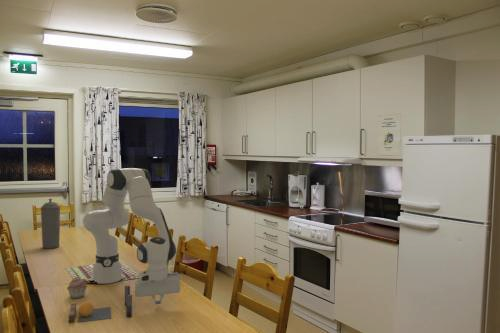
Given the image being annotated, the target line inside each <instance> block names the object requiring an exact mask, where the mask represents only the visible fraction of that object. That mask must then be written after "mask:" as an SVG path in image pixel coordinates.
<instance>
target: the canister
mask: <svg viewBox="0 0 500 333" xmlns="http://www.w3.org/2000/svg"><path fill="white" fill-rule="evenodd" d="M52 200H53V198H49V199H48V202H45V203H43V205H41V207H40V219H41V242H42V243H41V245H42V248H43V249H46V250H47V249H49V250H50V249H57V248H58V247H59V246H60V234H61V233H60V231H61V230H60V224H61V206H60V205H59V204H58V203H57V202H55V201H52Z"/></svg>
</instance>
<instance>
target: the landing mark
mask: <svg viewBox="0 0 500 333" xmlns="http://www.w3.org/2000/svg"><path fill="white" fill-rule="evenodd" d="M111 312H112V310H111V306H107V307H99V308H97V307H96V308H93V312H92V314H91V315H90V316H87V317H83V316H81V315H80V314H79V313H78V320H77V323H84V322H93V321H100V320H101V321H102V320H109V319H112V317H111V316H112V313H111Z"/></svg>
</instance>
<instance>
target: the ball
mask: <svg viewBox="0 0 500 333" xmlns="http://www.w3.org/2000/svg"><path fill="white" fill-rule="evenodd" d="M93 309H94V306H93V304H92V303H91V302H88V301H85V302H82V303H81V304H80V305H79V307H78V311H77V312H78V315H79V314H80V315H81V316H83V317H87V316H90V315H91V314H92V312H93Z"/></svg>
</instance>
